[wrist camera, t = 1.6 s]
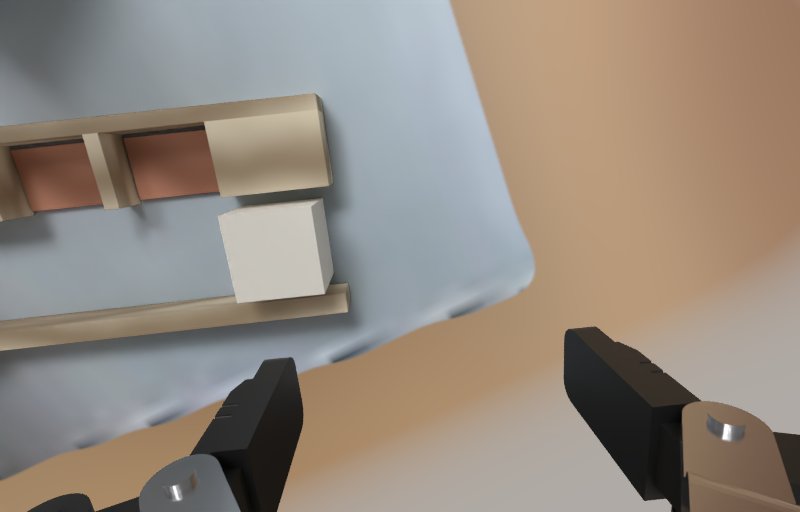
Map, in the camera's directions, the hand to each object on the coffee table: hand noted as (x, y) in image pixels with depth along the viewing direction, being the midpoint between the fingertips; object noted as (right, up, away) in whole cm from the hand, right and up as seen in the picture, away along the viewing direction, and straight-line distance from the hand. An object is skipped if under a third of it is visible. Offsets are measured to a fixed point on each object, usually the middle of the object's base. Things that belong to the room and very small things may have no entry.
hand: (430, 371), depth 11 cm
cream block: (-9, +5, +19) cm, 22 cm away
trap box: (-21, +5, +19) cm, 29 cm away
